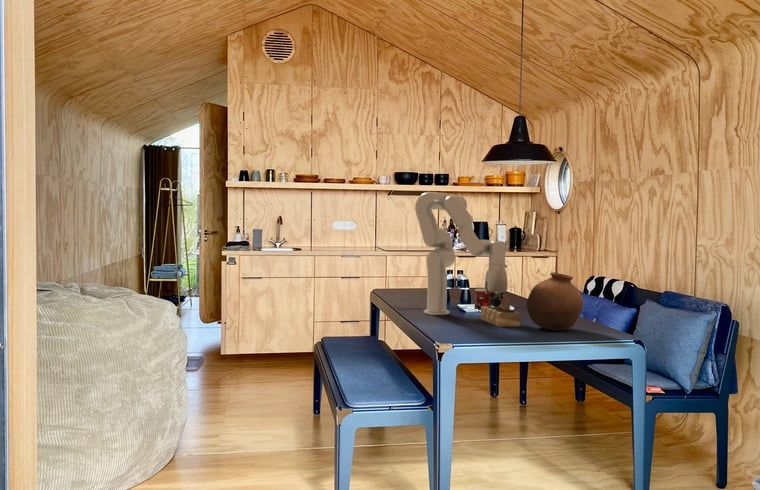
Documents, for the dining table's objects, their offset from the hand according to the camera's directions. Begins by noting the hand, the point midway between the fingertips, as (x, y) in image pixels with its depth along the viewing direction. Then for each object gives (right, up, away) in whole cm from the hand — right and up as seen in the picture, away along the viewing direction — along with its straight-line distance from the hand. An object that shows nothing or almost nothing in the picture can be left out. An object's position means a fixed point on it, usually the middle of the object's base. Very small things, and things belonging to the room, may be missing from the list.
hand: (495, 306), depth 286 cm
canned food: (-2, -5, +26) cm, 27 cm away
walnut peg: (+3, -2, -9) cm, 10 cm away
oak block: (+1, -7, -4) cm, 8 cm away
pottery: (+22, -9, -19) cm, 30 cm away
